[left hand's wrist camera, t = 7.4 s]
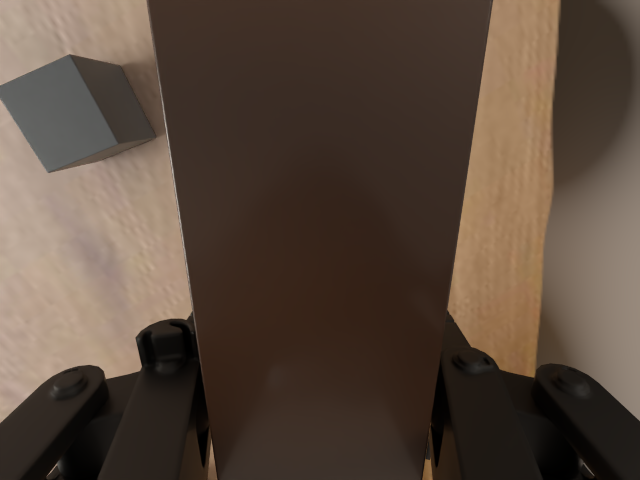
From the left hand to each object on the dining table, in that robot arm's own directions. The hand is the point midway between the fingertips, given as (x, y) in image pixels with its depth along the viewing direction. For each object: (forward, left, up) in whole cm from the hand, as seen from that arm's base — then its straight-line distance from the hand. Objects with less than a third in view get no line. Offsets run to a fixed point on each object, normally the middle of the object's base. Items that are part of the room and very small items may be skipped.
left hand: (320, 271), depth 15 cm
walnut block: (+10, 0, 0) cm, 10 cm away
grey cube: (+6, +15, -13) cm, 20 cm away
